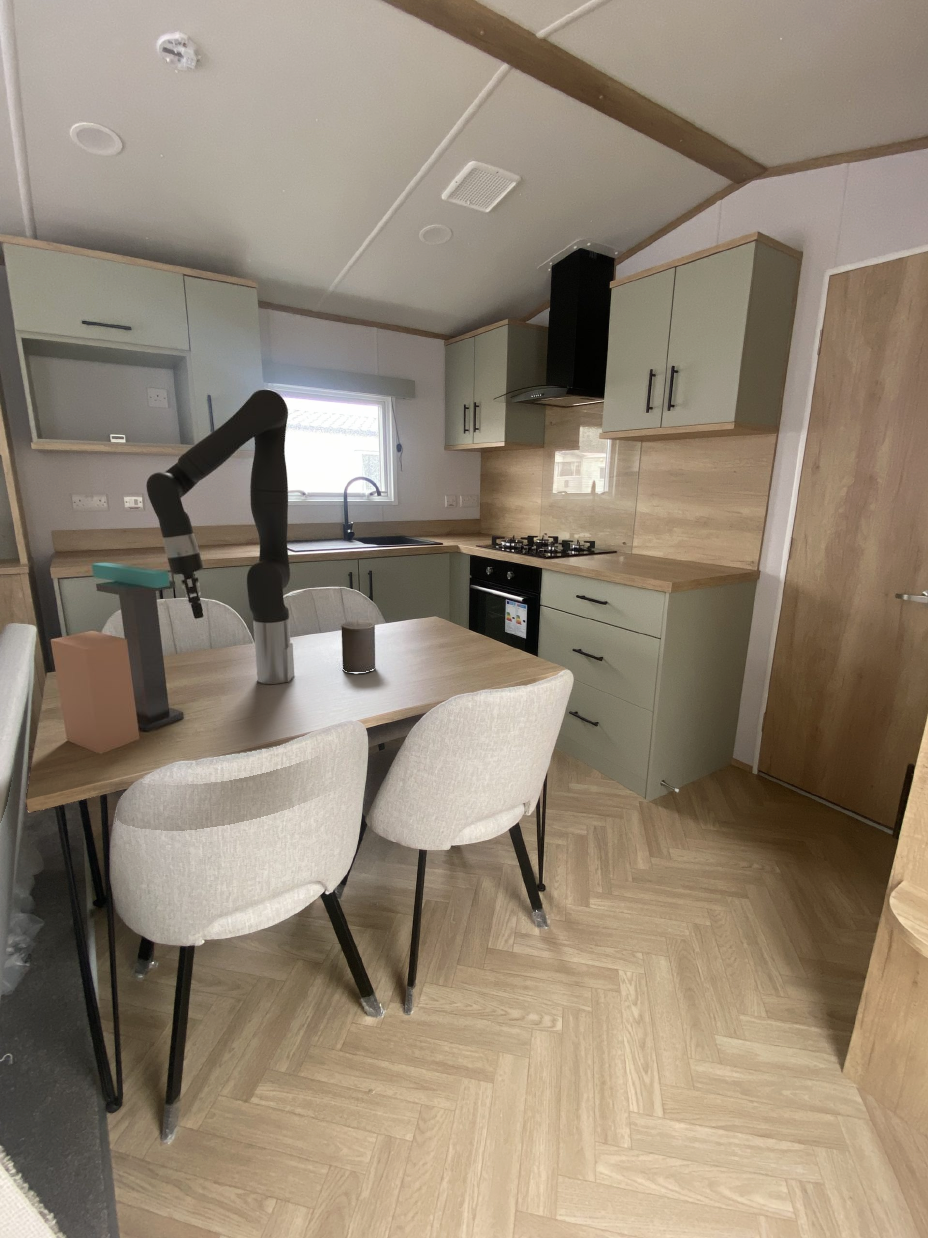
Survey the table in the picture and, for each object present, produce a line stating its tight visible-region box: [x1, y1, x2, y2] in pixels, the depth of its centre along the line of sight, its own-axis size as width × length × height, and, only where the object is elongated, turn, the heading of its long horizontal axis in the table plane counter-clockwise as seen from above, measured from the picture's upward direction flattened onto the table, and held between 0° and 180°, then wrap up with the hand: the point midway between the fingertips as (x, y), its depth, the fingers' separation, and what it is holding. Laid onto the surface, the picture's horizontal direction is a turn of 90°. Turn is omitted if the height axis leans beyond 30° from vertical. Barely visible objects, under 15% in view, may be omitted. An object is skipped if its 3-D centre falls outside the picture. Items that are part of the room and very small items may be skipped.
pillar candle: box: [341, 619, 376, 672], centre depth 162 cm, size 10×10×15 cm
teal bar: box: [91, 562, 170, 588], centre depth 119 cm, size 22×3×3 cm, turn 62°
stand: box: [95, 579, 185, 734], centre depth 123 cm, size 10×11×32 cm
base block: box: [50, 630, 140, 755], centre depth 114 cm, size 12×8×22 cm, turn 62°
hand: (199, 615), depth 144 cm, fingers open, 8 cm apart
